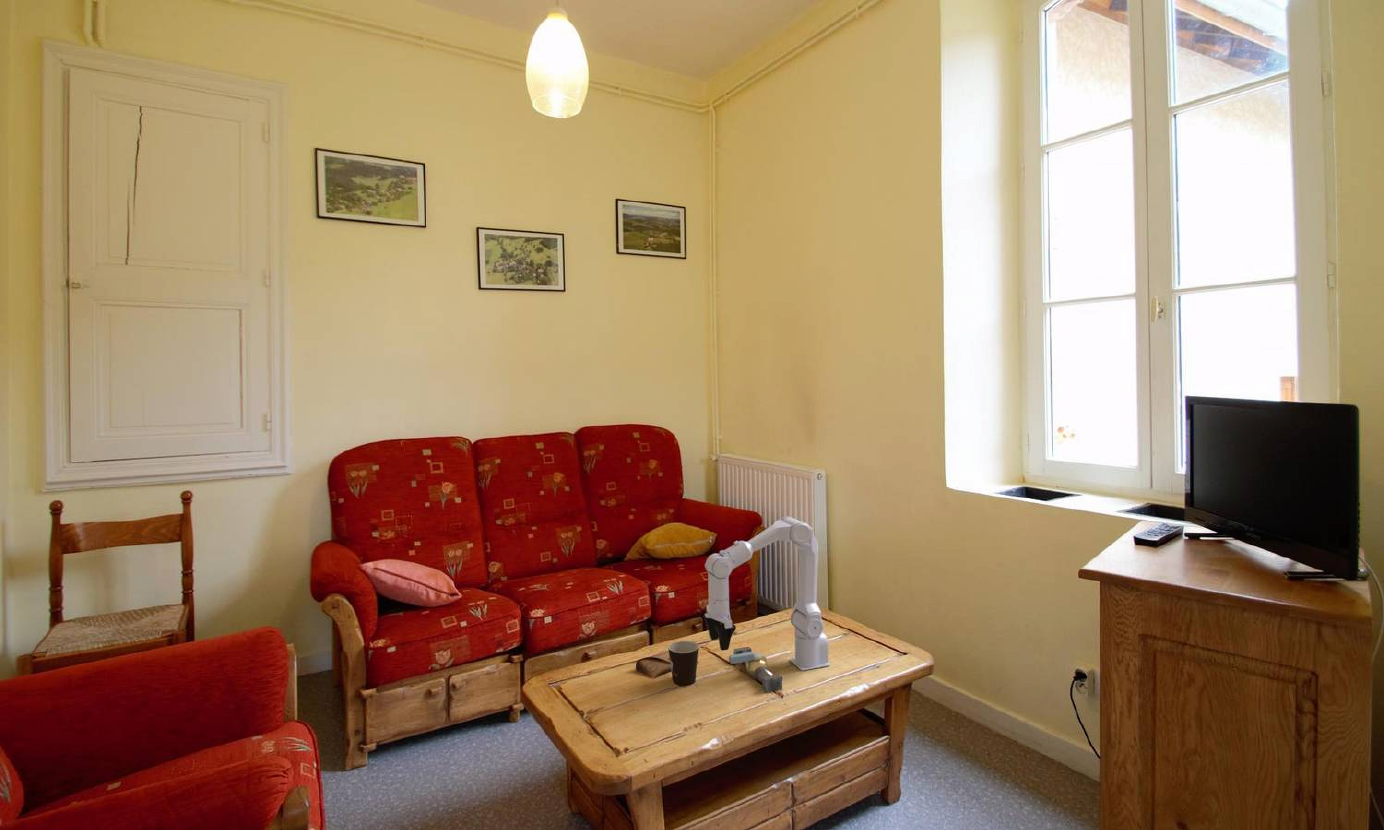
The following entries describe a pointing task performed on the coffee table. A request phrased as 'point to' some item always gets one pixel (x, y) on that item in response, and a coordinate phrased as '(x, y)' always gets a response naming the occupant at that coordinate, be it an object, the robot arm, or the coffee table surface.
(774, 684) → the valve body
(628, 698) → the coffee table surface
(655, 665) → the sunglasses case
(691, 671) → the coffee mug
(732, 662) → the lever
